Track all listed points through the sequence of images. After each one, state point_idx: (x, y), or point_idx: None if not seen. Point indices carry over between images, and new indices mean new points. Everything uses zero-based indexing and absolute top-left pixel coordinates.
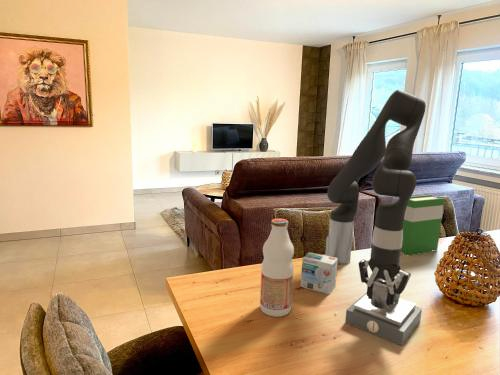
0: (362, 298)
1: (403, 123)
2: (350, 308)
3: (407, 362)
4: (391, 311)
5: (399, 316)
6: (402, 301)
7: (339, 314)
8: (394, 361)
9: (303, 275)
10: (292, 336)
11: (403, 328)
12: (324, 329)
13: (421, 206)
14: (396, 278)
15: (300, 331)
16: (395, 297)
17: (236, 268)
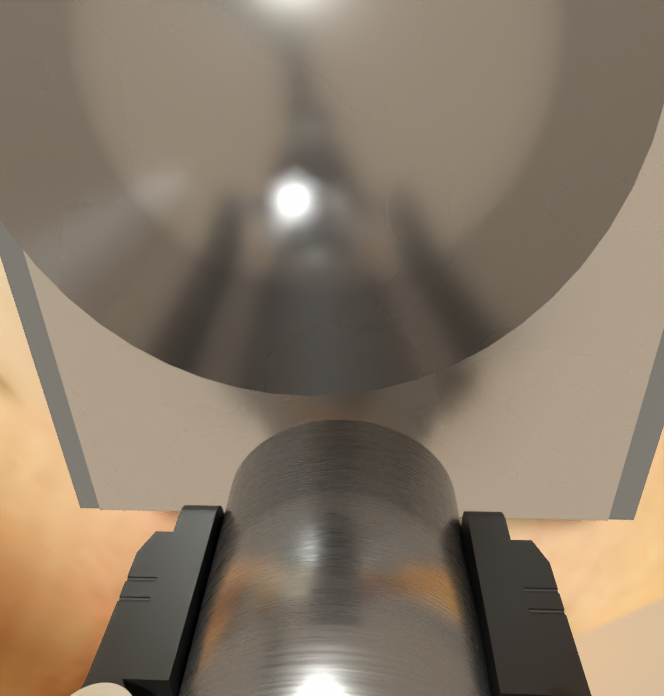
0: (58, 335)
1: None
2: (88, 472)
3: (646, 551)
4: (472, 396)
5: (580, 436)
6: None
7: (14, 354)
8: (571, 580)
9: None
10: (42, 681)
11: (624, 476)
12: (97, 561)
13: None
14: (460, 183)
15: (29, 638)
16: (568, 625)
17: None
